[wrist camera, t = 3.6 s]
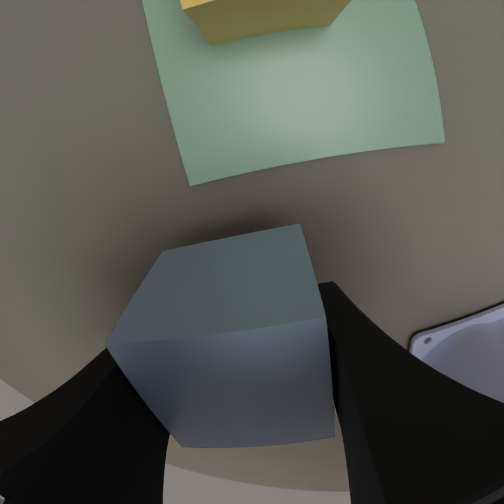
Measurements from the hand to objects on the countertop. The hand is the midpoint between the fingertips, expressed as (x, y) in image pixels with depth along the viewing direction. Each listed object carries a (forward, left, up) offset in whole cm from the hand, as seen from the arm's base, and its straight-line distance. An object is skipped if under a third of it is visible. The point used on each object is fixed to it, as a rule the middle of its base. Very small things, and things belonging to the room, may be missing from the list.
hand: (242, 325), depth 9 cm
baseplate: (-4, -9, -5) cm, 11 cm away
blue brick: (0, 0, -2) cm, 2 cm away
